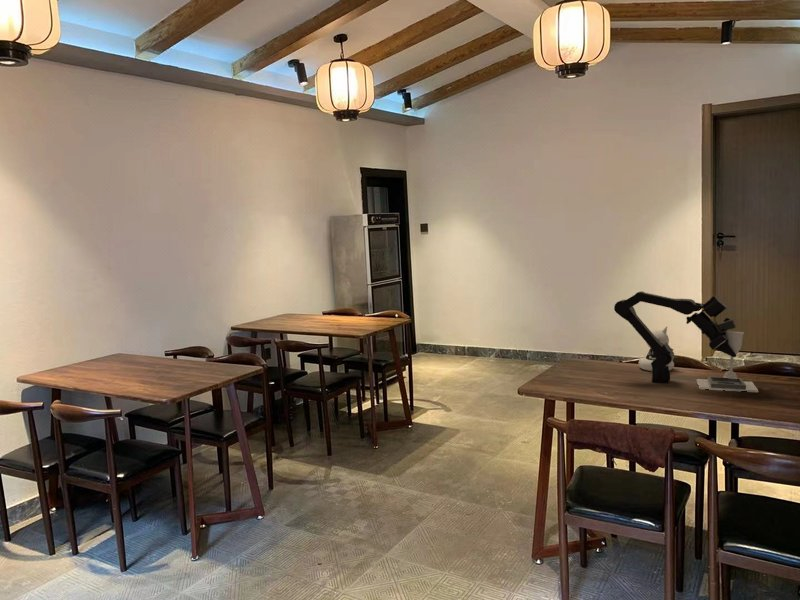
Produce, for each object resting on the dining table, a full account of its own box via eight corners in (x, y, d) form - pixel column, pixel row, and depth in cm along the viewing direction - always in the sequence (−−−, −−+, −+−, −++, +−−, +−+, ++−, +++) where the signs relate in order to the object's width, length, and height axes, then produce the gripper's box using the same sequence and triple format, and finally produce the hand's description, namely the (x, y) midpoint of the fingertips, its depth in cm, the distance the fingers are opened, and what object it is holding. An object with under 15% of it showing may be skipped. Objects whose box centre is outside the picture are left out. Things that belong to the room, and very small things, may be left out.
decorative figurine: (633, 370, 270) (634, 326, 268) (644, 364, 281) (645, 322, 279) (668, 374, 260) (669, 328, 258) (678, 367, 271) (678, 324, 269)
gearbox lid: (699, 389, 234) (699, 383, 234) (696, 380, 247) (696, 375, 247) (758, 392, 227) (758, 386, 227) (751, 383, 240) (752, 378, 240)
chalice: (744, 379, 230) (748, 333, 229) (728, 379, 229) (732, 332, 228) (732, 376, 237) (735, 331, 236) (716, 375, 236) (719, 330, 236)
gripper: (720, 314, 225) (752, 346, 221) (725, 308, 241) (755, 338, 236) (696, 333, 231) (727, 364, 226) (702, 326, 246) (731, 355, 241)
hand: (736, 355), depth 232 cm, fingers closed on chalice, 6 cm apart
